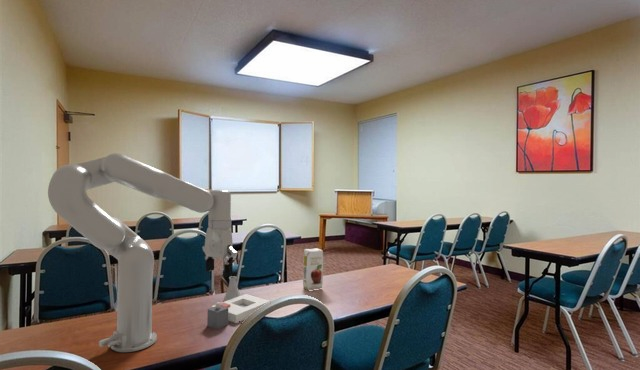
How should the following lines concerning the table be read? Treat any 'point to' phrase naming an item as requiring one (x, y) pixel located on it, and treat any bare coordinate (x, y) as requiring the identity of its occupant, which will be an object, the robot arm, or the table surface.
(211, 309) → the plug
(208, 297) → the table surface
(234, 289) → the flask
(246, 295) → the socket plate
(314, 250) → the juice carton
